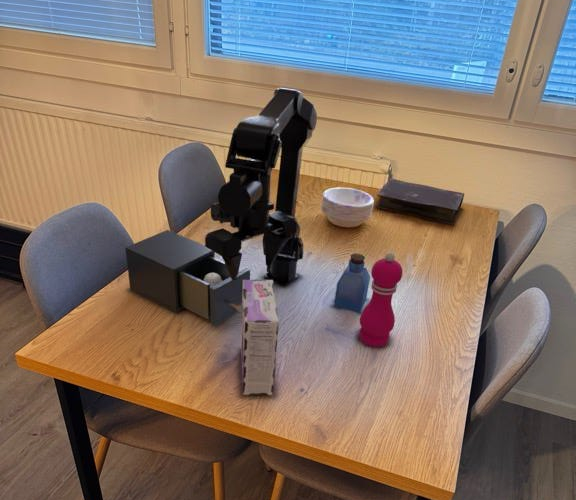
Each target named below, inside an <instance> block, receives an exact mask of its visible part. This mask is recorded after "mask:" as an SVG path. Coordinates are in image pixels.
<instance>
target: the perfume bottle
mask: <svg viewBox="0 0 576 500" xmlns="http://www.w3.org/2000/svg"><path fill="white" fill-rule="evenodd" d="M365 258H366V257H365V255H363V254H361V253H358V252H357V253H355V252H354V253H351V254H350V258H349V260H348V265H347V266H346V268H345V269H344V271H343V272H342V274H341V275H340V277H339V279H338V281H337V283H336V288H335V295H334V304H333V308H337V309H342V310H346V311H350V312H355V313H359V314H361V313H362V311H363V309H364V308H363V307H364V306H365V303H366V301H367V298H368V297H367V296H368V291H369V286H370V280H371V275H370V274H369V271H368V269H367V268H366V267H365V262H366V261H365Z"/></svg>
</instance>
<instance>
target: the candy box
mask: <svg viewBox="0 0 576 500" xmlns="http://www.w3.org/2000/svg"><path fill="white" fill-rule="evenodd" d="M275 293H276V291H275V287H274V282H273V280H269V279H250V280H243V288H242V311H241V319H242V321H241V347H240V349H241V351H240V354H241V383H242V384H241V385H242V386H241V387H242V395H243V396H273V395H274V387H275V385H274V383H275V372H276V361H277V347H278V338H279V337H278V336H279V326H280V325H279V324H280V323H279V322H280V320H279V316H278V307H277V301H276V300H277V299H276V294H275Z"/></svg>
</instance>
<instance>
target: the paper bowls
mask: <svg viewBox="0 0 576 500" xmlns="http://www.w3.org/2000/svg"><path fill="white" fill-rule="evenodd" d="M321 198H322V199H321V205H320V209H321V212H322V213H323V214H324V215H326V217H327V220H328V221H329V222H330V223H331V224H333V225H335V226H338V227H341V228H356V227H358V226H360V225H362V223H363V222H365V221H368V220H370V219H371V218H372V215H373V209H374V205H375V199H374V197H373V196H372V195H371V194H369V193H367V192H366V191H363V190H360V189H356V188H350V187H333V188H332V187H331V188H328V189H326V190H324V191H323V193H322V197H321Z"/></svg>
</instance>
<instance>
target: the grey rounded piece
mask: <svg viewBox="0 0 576 500" xmlns="http://www.w3.org/2000/svg"><path fill="white" fill-rule="evenodd" d="M203 281H205V282H207V283H209V284H210V288H211V287H213V286H215V285H216V284H218V283H220V282H222V279H221V277H220V275H219V274H217V273H209V274H207V275H206V276H205V278H204V280H203Z"/></svg>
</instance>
